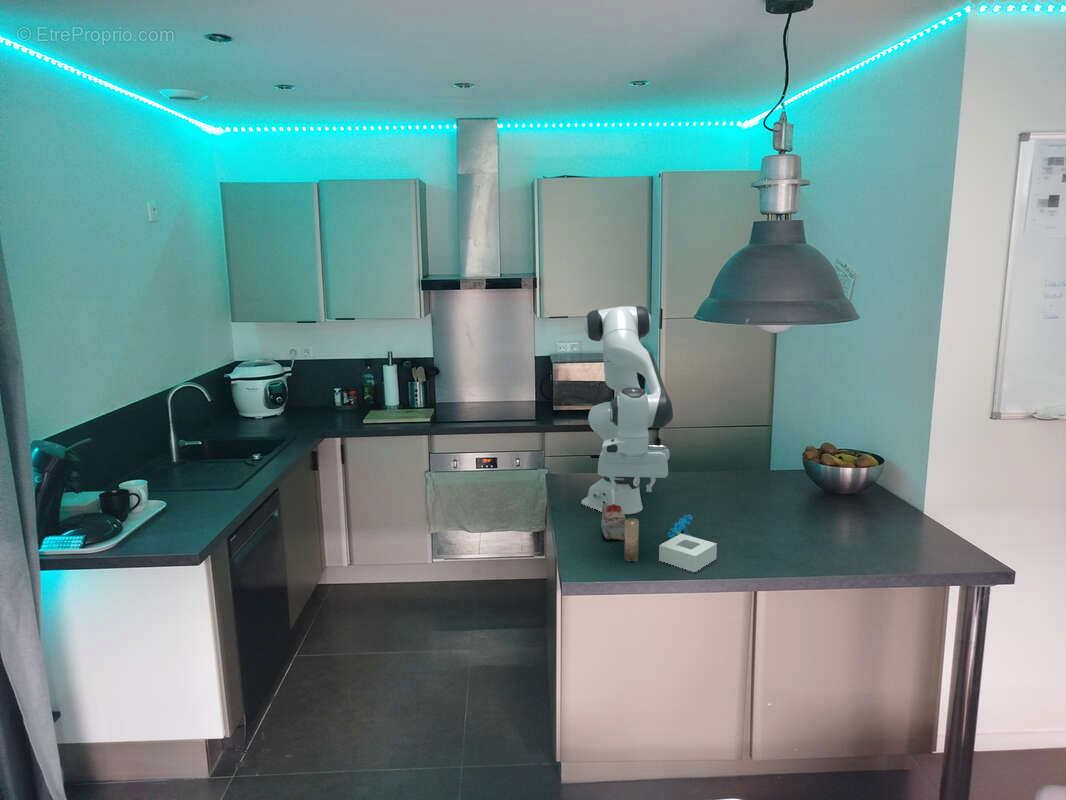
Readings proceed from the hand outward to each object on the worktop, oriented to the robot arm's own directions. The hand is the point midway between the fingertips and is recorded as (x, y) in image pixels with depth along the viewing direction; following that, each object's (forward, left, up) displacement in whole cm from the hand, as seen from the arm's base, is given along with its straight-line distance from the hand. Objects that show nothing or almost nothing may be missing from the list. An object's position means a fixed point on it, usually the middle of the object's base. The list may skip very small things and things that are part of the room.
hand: (632, 491), depth 208 cm
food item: (-16, +12, -21) cm, 29 cm away
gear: (+2, +23, -21) cm, 31 cm away
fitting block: (+13, +10, -21) cm, 27 cm away
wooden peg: (0, 0, -21) cm, 21 cm away
